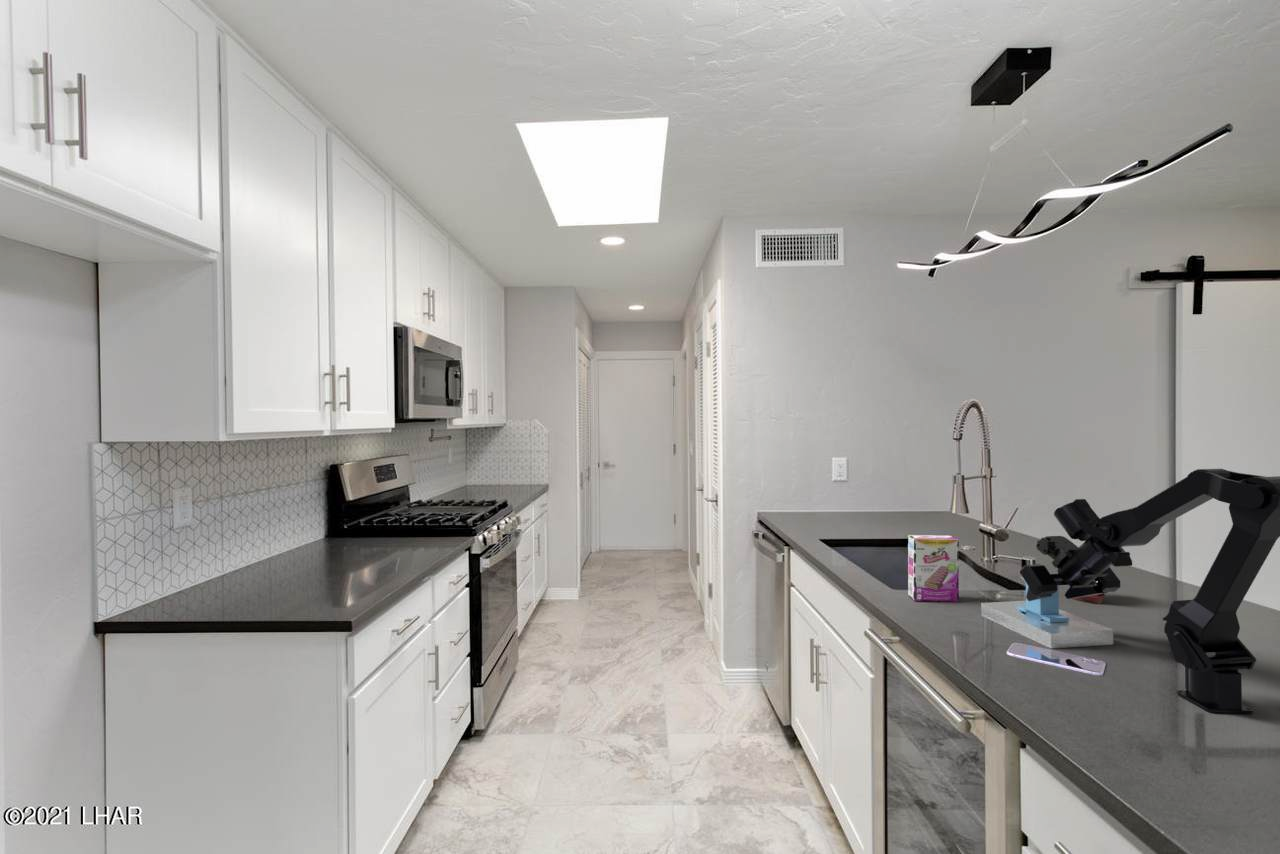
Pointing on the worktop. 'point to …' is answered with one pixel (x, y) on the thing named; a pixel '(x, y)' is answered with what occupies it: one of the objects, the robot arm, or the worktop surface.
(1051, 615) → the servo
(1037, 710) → the worktop surface
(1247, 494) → the robot arm
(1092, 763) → the worktop surface
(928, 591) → the candy bar box
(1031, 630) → the plate
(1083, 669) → the mobile phone
